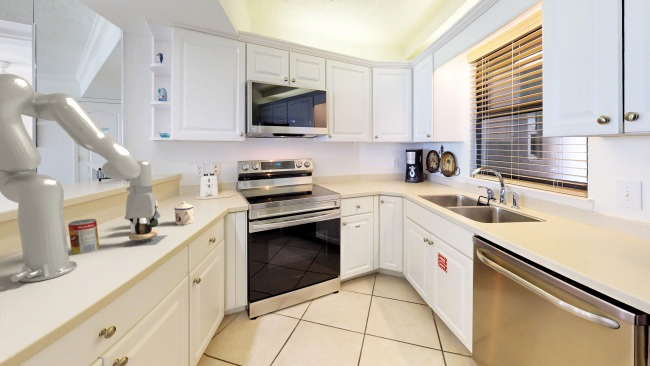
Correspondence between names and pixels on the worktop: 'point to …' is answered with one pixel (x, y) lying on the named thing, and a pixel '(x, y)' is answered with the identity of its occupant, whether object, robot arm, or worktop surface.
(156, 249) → the worktop surface
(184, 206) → the teacup with lid
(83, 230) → the canned food
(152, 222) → the character mug
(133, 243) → the mat
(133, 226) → the white cup
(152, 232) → the lid
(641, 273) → the worktop surface
